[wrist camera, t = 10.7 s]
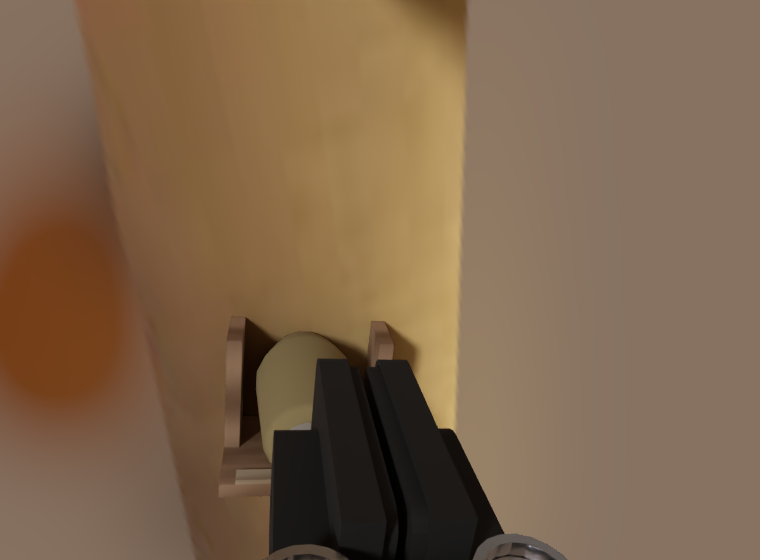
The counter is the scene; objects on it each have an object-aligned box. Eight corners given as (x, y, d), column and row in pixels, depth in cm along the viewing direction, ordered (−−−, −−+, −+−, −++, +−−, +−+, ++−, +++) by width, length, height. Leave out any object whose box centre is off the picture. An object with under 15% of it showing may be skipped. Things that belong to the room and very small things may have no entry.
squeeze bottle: (351, 390, 51) (386, 543, 34) (264, 404, 50) (257, 569, 33) (342, 312, 48) (376, 439, 31) (250, 326, 47) (234, 464, 30)
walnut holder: (231, 316, 46) (220, 369, 38) (384, 321, 49) (405, 372, 41) (228, 427, 50) (218, 497, 42) (371, 426, 53) (388, 491, 44)
